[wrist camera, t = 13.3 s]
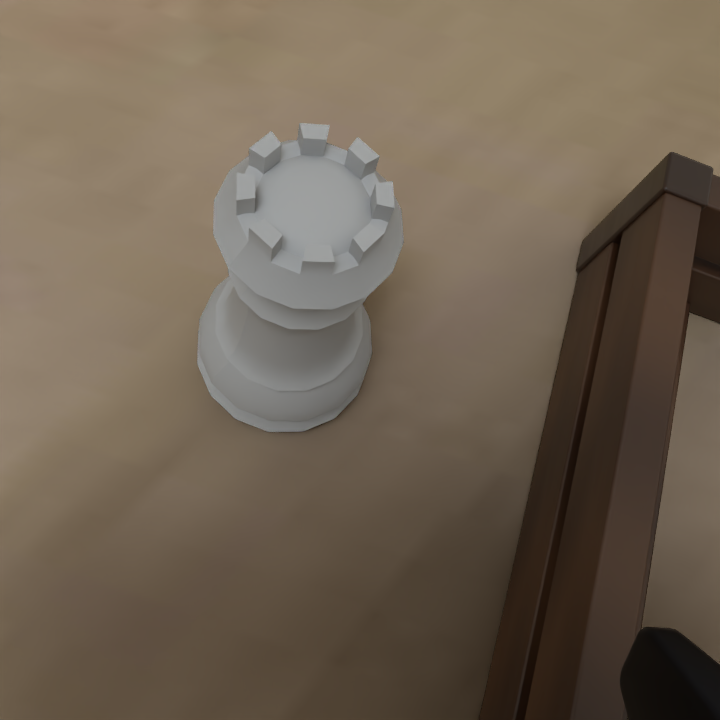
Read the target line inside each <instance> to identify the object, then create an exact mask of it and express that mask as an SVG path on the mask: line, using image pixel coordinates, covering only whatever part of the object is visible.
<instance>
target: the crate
mask: <svg viewBox="0 0 720 720" xmlns="http://www.w3.org/2000/svg"><path fill="white" fill-rule="evenodd" d="M576 270H577V272H578V273H579V274H578V278H577V283H576V287H575V292H574V296H573V301H572V305H571V310H570V314H569V319H568V323H567V328H566V332H565V337H564V341H563V346H562V350H561V354H560V359H559V363H558V368H557V372H556V377H555V381H554V386H553V390H552V395H551V399H550V404H549V408H548V413H547V417H546V422H545V426H544V431H543V435H542V440H541V444H540V449H539V453H538V458H537V462H536V466H535V471H534V475H533V480H532V484H531V489H530V493H529V498H528V502H527V507H526V511H525V516H524V520H523V525H522V529H521V534H520V538H519V543H518V547H517V552H516V556H515V561H514V565H513V570H512V574H511V579H510V583H509V587H508V592H507V596H506V601H505V605H504V610H503V614H502V619H501V623H500V628H499V632H498V637H497V641H496V646H495V650H494V655H493V659H492V664H491V668H490V673H489V677H488V682H487V686H486V691H485V695H484V699H483V704H482V708H481V713H480V717H479V720H627V718H628V715H627V711H626V708H625V704H624V700H623V697H622V693H621V688H620V674H621V669H622V667H623V665H624V662H625V660H626V658H627V656H628V654H629V651H630V649H631V647H632V645H633V643H634V641H635V638H636V636H637V634H638V632H639V631H640V630H641V626H642V620H643V613H644V606H645V600H646V593H647V587H648V580H649V574H650V567H651V560H652V554H653V547H654V541H655V534H656V527H657V521H658V514H659V508H660V501H661V494H662V488H663V481H664V475H665V468H666V462H667V455H668V448H669V442H670V435H671V429H672V422H673V415H674V409H675V402H676V396H677V389H678V383H679V376H680V369H681V363H682V356H683V350H684V343H685V336H686V330H687V323H688V317H689V312H692V313H695V314H697V315H700V316H703V317H705V318H708V319H711V320H713V321H716V322H719V323H720V177H718V176H716V175H713V168H712V167H710V166H708V165H705V164H702V163H700V162H697V161H695V160H692V159H690V158H687V157H685V156H682V155H679V154H677V153H674V152H670V153H669V154H668V155H667V156H666V157H665V158H664V159H663V160H662V161H661V162H660V163H659V164H658V165H657V166H656V167H655V168H654V169H653V170H652V171H651V172H650V173H649V174H648V175H647V176H646V177H645V178H644V179H643V180H642V181H641V182H640V183H639V184H638V185H637V186H636V187H635V188H634V189H633V190H632V191H631V192H630V193H629V194H628V195H627V196H626V197H625V198H624V199H623V200H622V201H621V202H620V203H619V204H618V205H617V206H616V207H615V208H614V209H613V210H612V211H611V212H610V213H609V214H608V215H607V216H606V217H605V218H604V219H603V220H602V221H601V223H600V224H599V225H598V226H597V227H596V228H595V229H594V230H593V231H592V232H591V233H590V234H589V235H588V236H587V237H586V238H585V239H584V240H583V242H582V247H581V251H580V256H579V260H578V264H577V269H576Z"/></svg>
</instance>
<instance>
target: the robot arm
mask: <svg viewBox="0 0 720 720" xmlns="http://www.w3.org/2000/svg"><path fill="white" fill-rule="evenodd" d="M620 688H621V693H622V697H623V700H624V704H625V708H626V711H627V715H628V719H629V720H720V664H718V663H717V662H716V661H715V660H713V659H712V658H711V657H710V656H708V655H707V654H706V653H705V652H704V651H702V650H701V649H700V648H699V647H697V646H696V645H695V644H694V643H692V642H691V641H690V640H689V639H687V638H686V637H685V636H684V635H683V634H681V633H680V632H678V631H677V630H675V629H671V628H659V627H645V628H643V629H642V630H640V631H639V632H638V634H637V636H636V638H635V641H634V643H633V645H632V647H631V649H630V651H629V654H628V656H627V658H626V660H625V662H624V665H623V667H622V669H621V674H620Z"/></svg>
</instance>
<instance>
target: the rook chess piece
mask: <svg viewBox="0 0 720 720" xmlns="http://www.w3.org/2000/svg"><path fill="white" fill-rule="evenodd" d="M329 126H330V125H320V124H305V123H299V131H298V138H297V140H288V141H285V142H281V143H280V142H279V140H278V139H277V138H276V136H275V135H274V134H273V133H272V131H271V132H269V133H268V134H267V135H266V136H264V137H263V138H262V139H260V140H259V141H258V142H257V143H255V144H254V145H253V146H251V147H250V148H249V156H248V157H246V158H245V159H244V160H242V161H241V162H240V163H239V164H237V165H236V166H235V167H234V168H232V169H231V170H230V171H229V173H228V174H227V176H226V178H225V180H224V182H223V184H222V186H221V188H220V190H219V192H218V194H217V196H216V198H215V200H214V227H213V235H214V237H215V239H216V242H217V244H218V246H219V248H220V251H221V253H222V255H223V257H224V260H225V262H226V264H227V266H228V273H229V276H228V277H227V278H226V279H225V280H223V281H222V282H221V283H220V284H219V285H218V286H217V287H216V288H215V289H214V291H213V293H212V295H211V297H210V299H209V301H208V303H207V305H206V307H205V309H204V311H203V313H202V315H201V317H200V319H199V331H198V361H197V364H198V367H199V369H200V371H201V374H202V376H203V379H204V381H205V383H206V386H207V388H208V391H209V393H210V395H211V396H212V397H213V398H214V399H215V400H216V401H217V402H218V403H219V404H220V405H221V406H222V407H223V408H224V409H225V410H227V411H228V412H229V413H230V414H231V415H232V416H233V417H234V418H235V419H237V420H239V421H242V422H244V423H247V424H249V425H252V426H255V427H257V428H260V429H262V430H265V431H267V432H303V431H306V430H308V429H310V428H313V427H315V426H318V425H320V424H322V423H325V422H327V421H330V420H332V419H334V418H335V417H336V416H337V415H338V414H339V413H340V412H341V411H342V410H343V409H344V408H345V407H346V406H347V405H348V404H349V403H350V402H351V401H352V400H353V399H354V398H355V397H356V396H357V395H358V392H359V390H360V387H361V384H362V382H363V379H364V376H365V374H366V371H367V368H368V366H369V361H370V359H371V356H372V342H371V323H370V319H369V316H368V314H367V312H366V310H365V308H364V306H363V304H362V303H363V302H364V301H365V300H366V297H367V296H368V295H369V294H370V293H371V292H373V291H374V290H375V289H376V288H377V287H378V286H379V285H380V284H381V283H382V282H383V281H384V280H385V279H386V278H387V277H388V276H389V275H390V274H391V273H392V271H393V269H394V266H395V264H396V261H397V258H398V256H399V253H400V251H401V248H402V245H403V243H404V239H403V225H402V212H401V208H400V206H399V204H398V202H397V200H396V198H395V196H394V193H393V181H390V182H387V181H386V179H385V178H383V177H382V176H381V175H380V174H379V173H378V172H377V171H376V170H375V169H376V166H377V163H378V160H379V157H380V156H379V155H378V154H376V153H375V152H374V151H373V150H372V149H371V148H370V147H369V146H367V145H366V144H365V143H364V142H363V141H362V140H361V139H360V138H358V137H357V138H356V140H355V141H354V142H353V144H352V145H351V146H350V147H349V149H348V151H346V150H344V149H341V148H339V147H336V146H334V145H331V144H329V143H327V142H326V141H327V136H328V131H329Z"/></svg>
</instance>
